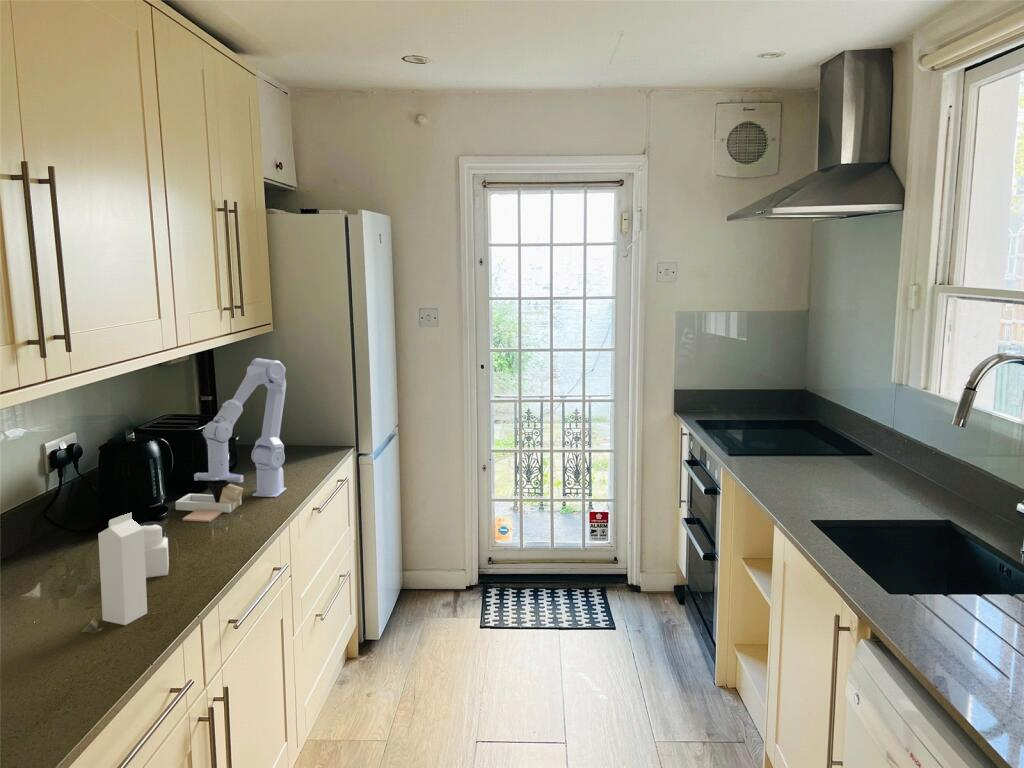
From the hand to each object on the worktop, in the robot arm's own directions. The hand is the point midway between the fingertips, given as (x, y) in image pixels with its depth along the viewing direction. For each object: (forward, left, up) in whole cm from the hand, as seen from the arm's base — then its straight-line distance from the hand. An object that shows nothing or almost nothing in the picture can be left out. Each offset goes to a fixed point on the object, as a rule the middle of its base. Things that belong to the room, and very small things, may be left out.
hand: (219, 503), depth 229 cm
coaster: (+9, -1, -1) cm, 9 cm away
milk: (+72, +13, -1) cm, 73 cm away
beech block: (0, +3, 0) cm, 3 cm away
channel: (0, -3, -1) cm, 3 cm away
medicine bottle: (+49, +6, -1) cm, 49 cm away
